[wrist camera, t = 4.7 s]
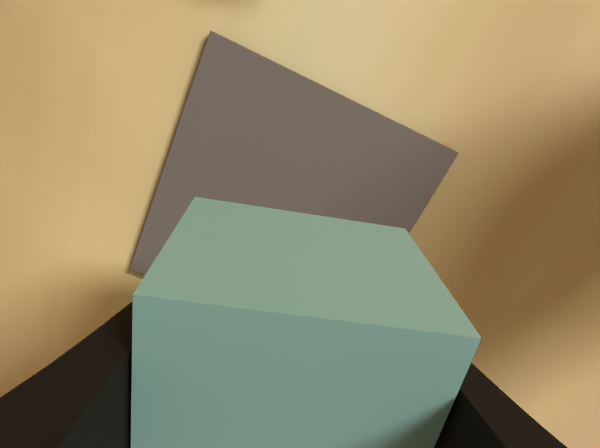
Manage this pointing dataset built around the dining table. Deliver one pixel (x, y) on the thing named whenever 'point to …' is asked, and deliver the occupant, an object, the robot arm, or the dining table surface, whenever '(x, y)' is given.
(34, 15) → the dining table surface
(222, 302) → the teal brick
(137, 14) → the dining table surface
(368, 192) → the mat
